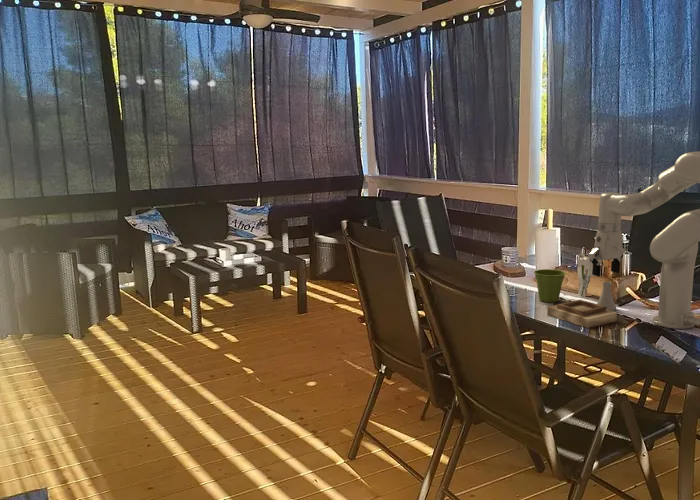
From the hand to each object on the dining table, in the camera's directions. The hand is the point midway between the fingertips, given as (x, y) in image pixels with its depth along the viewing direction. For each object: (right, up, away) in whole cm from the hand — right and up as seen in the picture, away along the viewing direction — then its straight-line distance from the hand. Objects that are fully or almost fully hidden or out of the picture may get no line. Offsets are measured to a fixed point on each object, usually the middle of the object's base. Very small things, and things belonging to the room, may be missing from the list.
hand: (605, 273), depth 222 cm
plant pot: (-16, -11, +16) cm, 25 cm away
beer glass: (+1, -10, +22) cm, 24 cm away
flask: (+1, -13, +2) cm, 13 cm away
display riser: (-12, -15, -8) cm, 21 cm away
